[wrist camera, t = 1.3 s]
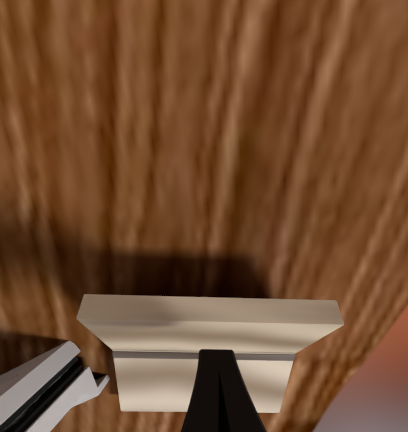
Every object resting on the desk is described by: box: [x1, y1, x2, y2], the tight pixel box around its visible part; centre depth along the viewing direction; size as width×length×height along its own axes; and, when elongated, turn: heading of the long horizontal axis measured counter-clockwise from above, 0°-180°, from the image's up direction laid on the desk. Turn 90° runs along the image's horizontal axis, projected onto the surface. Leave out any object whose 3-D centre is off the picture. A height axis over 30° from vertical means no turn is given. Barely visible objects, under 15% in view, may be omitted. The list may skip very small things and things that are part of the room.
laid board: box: [112, 350, 295, 413], centre depth 19 cm, size 7×13×1 cm, turn 87°
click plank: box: [76, 294, 344, 353], centre depth 15 cm, size 7×13×1 cm, turn 88°
